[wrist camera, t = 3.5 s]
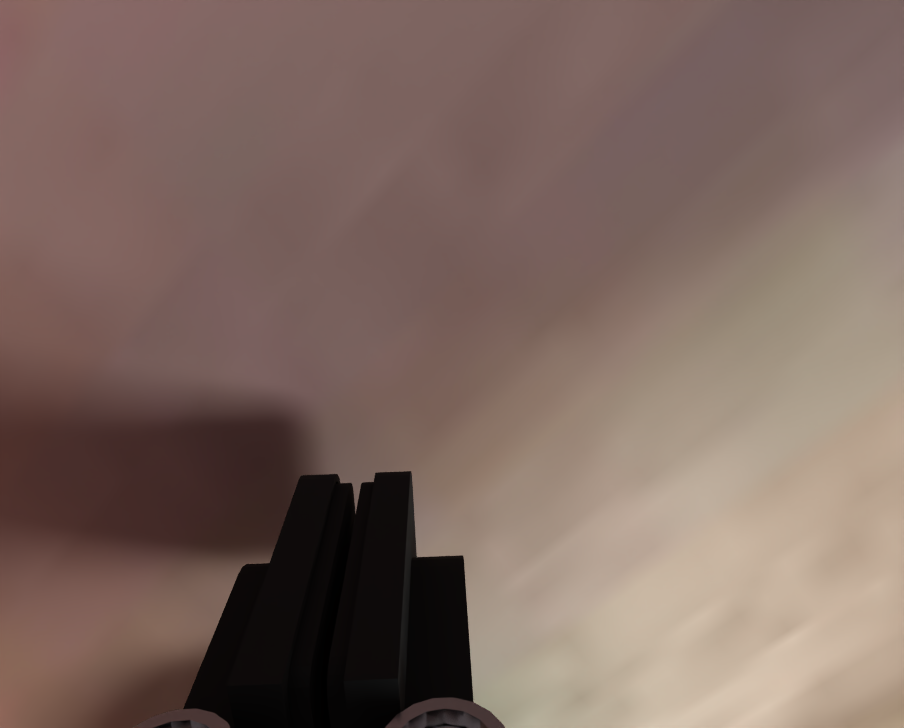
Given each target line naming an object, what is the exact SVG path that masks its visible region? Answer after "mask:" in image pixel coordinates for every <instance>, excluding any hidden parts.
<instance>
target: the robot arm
mask: <svg viewBox="0 0 904 728" xmlns="http://www.w3.org/2000/svg"><path fill="white" fill-rule="evenodd" d="M132 728H505V727H504V725H503V724H502V723H501V722H500V721H499V720H498V719H497V718H496V717H495V716H494V715H493V714H492V713H491V712H490V711H488V710H487V709H485V708H483V707H481V706H479V705H477V704H476V703H474V702H473V690H472V675H471V660H470V645H469V630H468V616H467V601H466V586H465V571H464V558H463V556H439V557H417V556H416V538H415V521H414V504H413V486H412V474H411V471H406V472H380V473H375V478H374V482H365V483H362V484H361V489H360V494H359V499H358V505H357V510H356V514H355V503H354V493H353V486H352V484H351V483H340V479H339V476H338V474H329V475H303V476H301V477H300V479H299V481H298V484H297V487H296V490H295V493H294V495H293V498H292V501H291V504H290V507H289V510H288V512H287V515H286V518H285V521H284V524H283V527H282V530H281V532H280V535H279V538H278V541H277V544H276V547H275V549H274V552H273V555H272V558H271V561H270V563H266V564H246V565H245V566H243V567H242V569H241V571H240V572H239V574H238V576H237V579H236V581H235V584H234V586H233V589H232V591H231V594H230V596H229V598H228V601H227V603H226V606H225V608H224V611H223V613H222V616H221V618H220V620H219V623H218V625H217V628H216V630H215V633H214V635H213V638H212V640H211V642H210V645H209V647H208V650H207V652H206V655H205V657H204V660H203V662H202V664H201V667H200V669H199V672H198V674H197V677H196V679H195V682H194V684H193V686H192V689H191V691H190V694H189V696H188V699H187V701H186V704H185V706H184V708H183V709H178V710H173V711H169V712H166V713H162V714H159V715H156V716H153V717H151V718H149V719H147V720H145V721H143V722H141V723H140V724H138V725H136V726H134V727H132Z"/></svg>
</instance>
